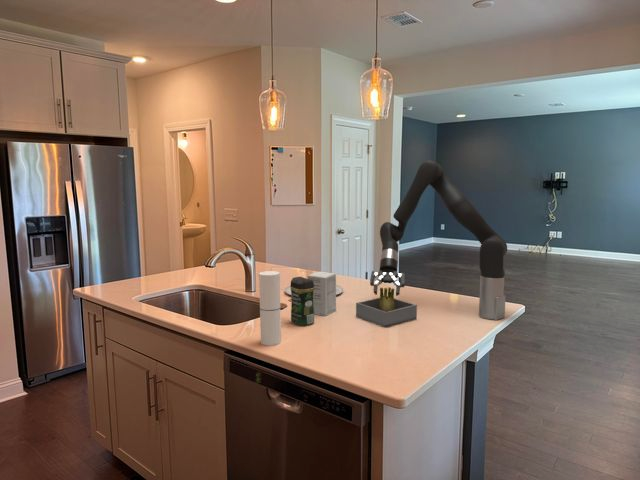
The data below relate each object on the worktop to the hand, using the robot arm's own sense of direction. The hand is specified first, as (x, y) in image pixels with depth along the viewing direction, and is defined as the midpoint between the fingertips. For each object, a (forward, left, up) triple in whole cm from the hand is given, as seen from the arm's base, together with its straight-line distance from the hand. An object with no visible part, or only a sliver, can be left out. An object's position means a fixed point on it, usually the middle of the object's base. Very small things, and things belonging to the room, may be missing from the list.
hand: (386, 294), depth 183 cm
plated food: (+54, -2, -11) cm, 55 cm away
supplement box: (+24, +15, -10) cm, 30 cm away
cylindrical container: (+6, +51, -10) cm, 53 cm away
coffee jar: (+17, +30, -10) cm, 36 cm away
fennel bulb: (+1, -1, -9) cm, 9 cm away
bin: (+1, -1, -10) cm, 10 cm away
